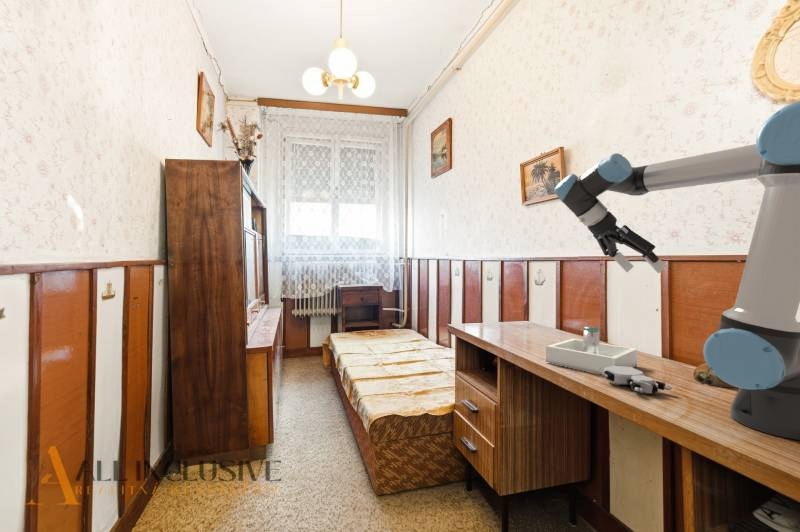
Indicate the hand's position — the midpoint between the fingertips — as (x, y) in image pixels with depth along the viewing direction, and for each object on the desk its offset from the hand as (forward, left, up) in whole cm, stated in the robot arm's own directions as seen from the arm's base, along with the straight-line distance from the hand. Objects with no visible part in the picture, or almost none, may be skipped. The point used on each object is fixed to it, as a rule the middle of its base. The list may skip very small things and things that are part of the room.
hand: (645, 269), depth 109 cm
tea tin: (+7, +18, -33) cm, 38 cm away
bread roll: (+16, -14, -34) cm, 40 cm away
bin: (+7, +17, -34) cm, 39 cm away
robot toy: (-10, 0, -34) cm, 35 cm away
